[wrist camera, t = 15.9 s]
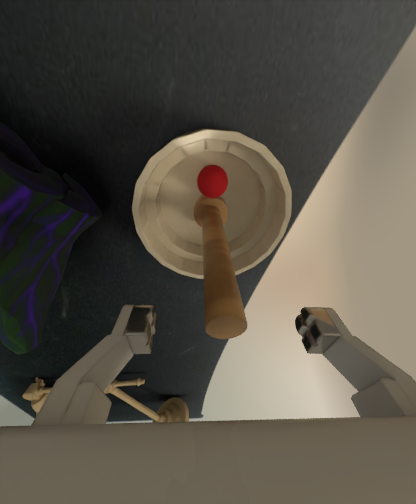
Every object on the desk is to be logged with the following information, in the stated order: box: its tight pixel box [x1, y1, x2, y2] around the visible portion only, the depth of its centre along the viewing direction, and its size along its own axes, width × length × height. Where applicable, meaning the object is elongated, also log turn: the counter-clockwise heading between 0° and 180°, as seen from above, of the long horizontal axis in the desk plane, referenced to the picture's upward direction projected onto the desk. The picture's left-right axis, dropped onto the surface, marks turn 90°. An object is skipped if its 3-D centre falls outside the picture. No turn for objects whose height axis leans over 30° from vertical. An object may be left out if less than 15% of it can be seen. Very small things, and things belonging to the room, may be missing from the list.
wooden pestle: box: [194, 195, 247, 339], centre depth 16 cm, size 4×4×16 cm
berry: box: [197, 165, 228, 198], centre depth 18 cm, size 3×3×3 cm
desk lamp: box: [23, 377, 189, 423], centre depth 53 cm, size 15×35×40 cm
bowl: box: [132, 128, 292, 279], centre depth 20 cm, size 15×15×6 cm
